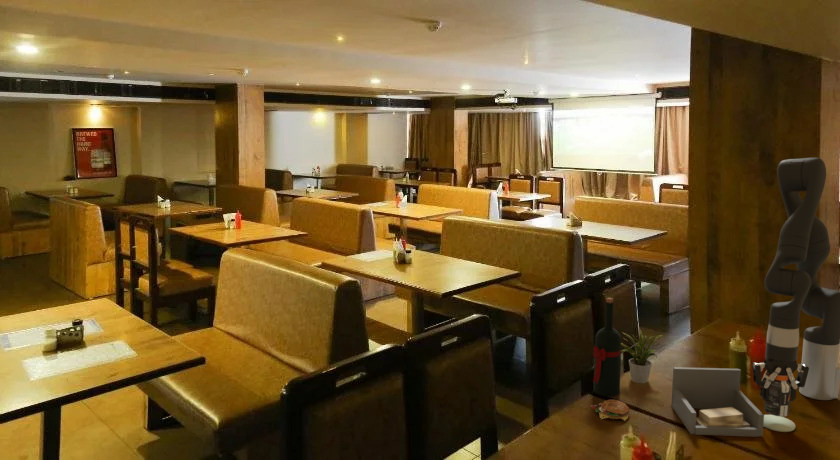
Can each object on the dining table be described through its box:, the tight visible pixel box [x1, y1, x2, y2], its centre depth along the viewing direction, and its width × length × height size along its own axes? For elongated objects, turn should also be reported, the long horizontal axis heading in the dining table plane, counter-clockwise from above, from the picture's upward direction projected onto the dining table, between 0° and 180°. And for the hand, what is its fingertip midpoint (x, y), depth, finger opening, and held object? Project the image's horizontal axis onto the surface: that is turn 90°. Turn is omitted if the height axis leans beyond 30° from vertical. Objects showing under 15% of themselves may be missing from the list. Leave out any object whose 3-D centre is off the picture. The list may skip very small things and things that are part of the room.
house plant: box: [621, 329, 664, 384], centre depth 202 cm, size 14×14×16 cm
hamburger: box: [590, 398, 630, 422], centre depth 180 cm, size 14×14×6 cm
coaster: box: [763, 414, 796, 433], centre depth 171 cm, size 9×9×1 cm
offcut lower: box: [696, 417, 750, 427], centre depth 170 cm, size 13×5×2 cm, turn 92°
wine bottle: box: [592, 297, 622, 397], centre depth 191 cm, size 8×10×30 cm
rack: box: [671, 366, 765, 438], centre depth 173 cm, size 18×18×12 cm
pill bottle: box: [764, 375, 791, 417], centre depth 170 cm, size 6×6×11 cm
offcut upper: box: [698, 407, 743, 426], centre depth 170 cm, size 10×5×2 cm, turn 99°
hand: (777, 399), depth 171 cm, fingers closed on pill bottle, 6 cm apart
